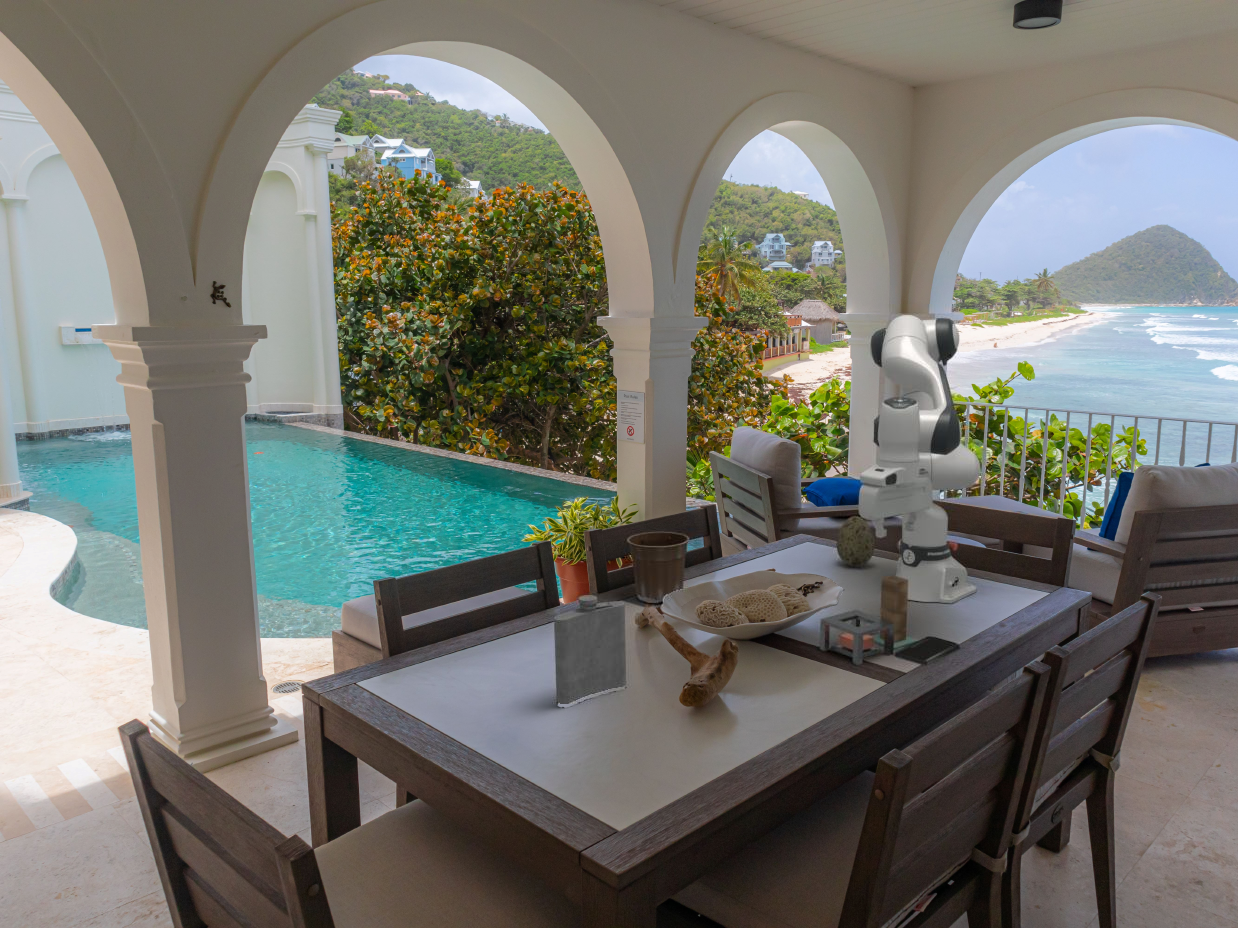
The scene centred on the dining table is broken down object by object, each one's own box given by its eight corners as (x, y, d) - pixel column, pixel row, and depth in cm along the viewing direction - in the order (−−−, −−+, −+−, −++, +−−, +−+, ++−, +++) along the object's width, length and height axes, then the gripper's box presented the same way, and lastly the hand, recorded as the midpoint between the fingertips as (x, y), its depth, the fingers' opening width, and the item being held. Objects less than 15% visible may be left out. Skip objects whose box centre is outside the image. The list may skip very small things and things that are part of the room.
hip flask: (562, 709, 166) (559, 608, 163) (551, 702, 170) (547, 603, 167) (629, 687, 176) (627, 591, 173) (617, 681, 179) (615, 586, 176)
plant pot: (616, 601, 230) (615, 541, 228) (647, 585, 244) (646, 528, 241) (671, 611, 222) (670, 549, 219) (700, 593, 235) (699, 535, 233)
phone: (961, 644, 194) (925, 662, 184) (961, 649, 194) (925, 667, 184) (928, 635, 200) (892, 652, 190) (928, 639, 200) (892, 657, 190)
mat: (890, 632, 204) (890, 630, 204) (918, 642, 197) (918, 640, 197) (866, 639, 200) (866, 637, 200) (894, 649, 193) (894, 647, 193)
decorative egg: (833, 560, 265) (834, 512, 262) (870, 561, 263) (871, 512, 261) (838, 571, 254) (840, 520, 252) (877, 571, 253) (878, 520, 251)
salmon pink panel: (855, 639, 196) (856, 630, 196) (873, 646, 192) (874, 637, 191) (839, 644, 193) (839, 635, 193) (857, 651, 189) (857, 641, 188)
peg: (892, 634, 201) (894, 575, 199) (906, 639, 198) (908, 579, 196) (879, 637, 199) (881, 578, 197) (893, 643, 196) (895, 582, 193)
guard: (855, 639, 200) (855, 609, 199) (893, 653, 191) (894, 623, 190) (819, 649, 194) (820, 618, 193) (857, 665, 185) (858, 633, 184)
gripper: (917, 465, 200) (915, 524, 203) (854, 475, 190) (852, 537, 192) (940, 469, 195) (938, 529, 197) (877, 479, 184) (875, 543, 187)
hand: (895, 533), depth 195 cm, fingers open, 8 cm apart
